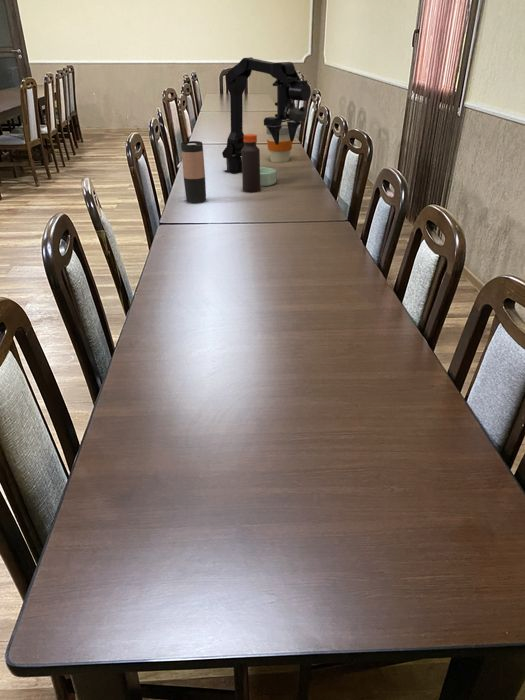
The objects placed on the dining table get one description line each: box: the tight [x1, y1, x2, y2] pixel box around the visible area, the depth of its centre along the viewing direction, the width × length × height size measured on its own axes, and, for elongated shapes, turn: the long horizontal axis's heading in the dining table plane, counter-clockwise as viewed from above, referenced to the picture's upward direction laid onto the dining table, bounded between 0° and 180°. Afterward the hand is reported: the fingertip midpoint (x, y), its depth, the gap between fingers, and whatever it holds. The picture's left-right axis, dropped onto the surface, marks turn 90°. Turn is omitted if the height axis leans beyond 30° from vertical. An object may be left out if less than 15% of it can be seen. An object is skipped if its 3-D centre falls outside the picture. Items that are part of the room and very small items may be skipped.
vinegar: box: [241, 133, 261, 193], centre depth 202 cm, size 7×7×20 cm
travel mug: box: [180, 140, 207, 204], centre depth 191 cm, size 8×8×20 cm
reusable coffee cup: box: [265, 124, 294, 163], centre depth 251 cm, size 12×13×15 cm
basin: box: [260, 166, 277, 188], centre depth 215 cm, size 12×12×5 cm
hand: (284, 142), depth 212 cm, fingers open, 9 cm apart
